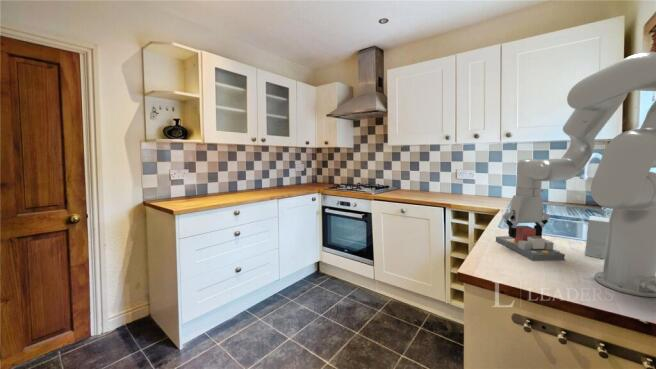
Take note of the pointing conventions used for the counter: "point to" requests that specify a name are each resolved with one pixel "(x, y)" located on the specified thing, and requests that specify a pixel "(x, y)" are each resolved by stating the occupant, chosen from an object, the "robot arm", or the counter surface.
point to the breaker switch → (536, 242)
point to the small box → (597, 236)
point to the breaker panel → (528, 252)
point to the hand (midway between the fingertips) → (524, 236)
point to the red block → (524, 233)
